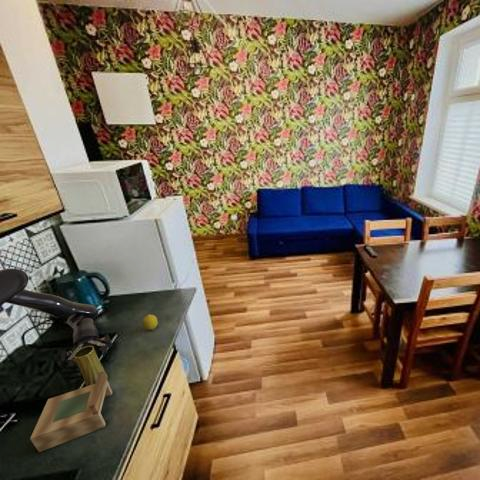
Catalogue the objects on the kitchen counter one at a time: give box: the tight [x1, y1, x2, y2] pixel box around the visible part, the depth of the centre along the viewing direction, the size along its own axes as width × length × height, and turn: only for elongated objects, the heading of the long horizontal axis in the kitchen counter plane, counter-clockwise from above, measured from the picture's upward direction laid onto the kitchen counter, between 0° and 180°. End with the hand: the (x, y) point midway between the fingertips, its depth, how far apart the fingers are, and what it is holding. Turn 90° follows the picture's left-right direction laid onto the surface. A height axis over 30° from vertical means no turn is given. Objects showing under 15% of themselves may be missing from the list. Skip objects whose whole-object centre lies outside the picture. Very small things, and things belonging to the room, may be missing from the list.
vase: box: [73, 346, 109, 387], centre depth 92 cm, size 6×6×14 cm
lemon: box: [142, 314, 158, 331], centre depth 118 cm, size 6×6×8 cm
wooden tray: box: [29, 371, 113, 453], centre depth 81 cm, size 15×13×10 cm
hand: (89, 361), depth 94 cm, fingers open, 8 cm apart
